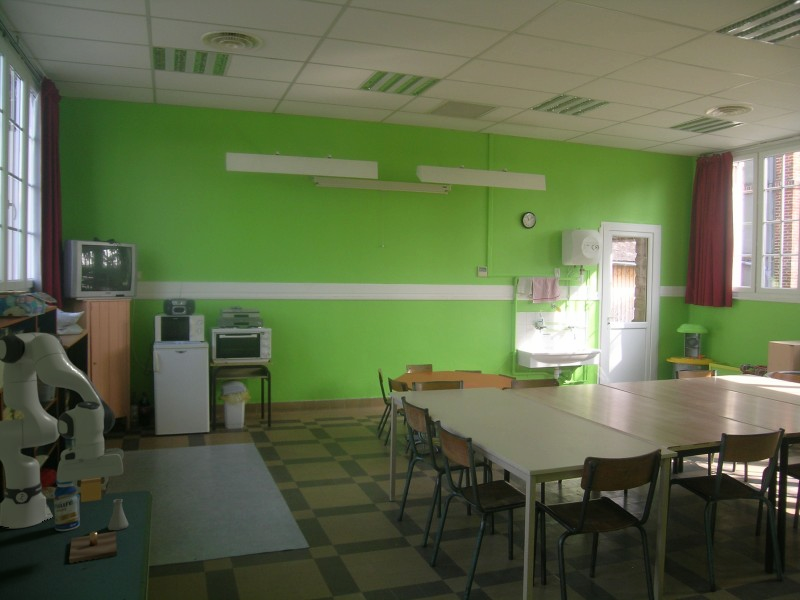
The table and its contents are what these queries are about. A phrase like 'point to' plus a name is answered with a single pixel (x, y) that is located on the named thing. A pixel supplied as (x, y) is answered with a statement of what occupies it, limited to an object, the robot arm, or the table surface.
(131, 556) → the table surface
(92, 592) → the table surface
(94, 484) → the mustard brick
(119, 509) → the flask
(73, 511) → the beverage bottle
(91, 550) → the walnut post base
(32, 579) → the table surface
